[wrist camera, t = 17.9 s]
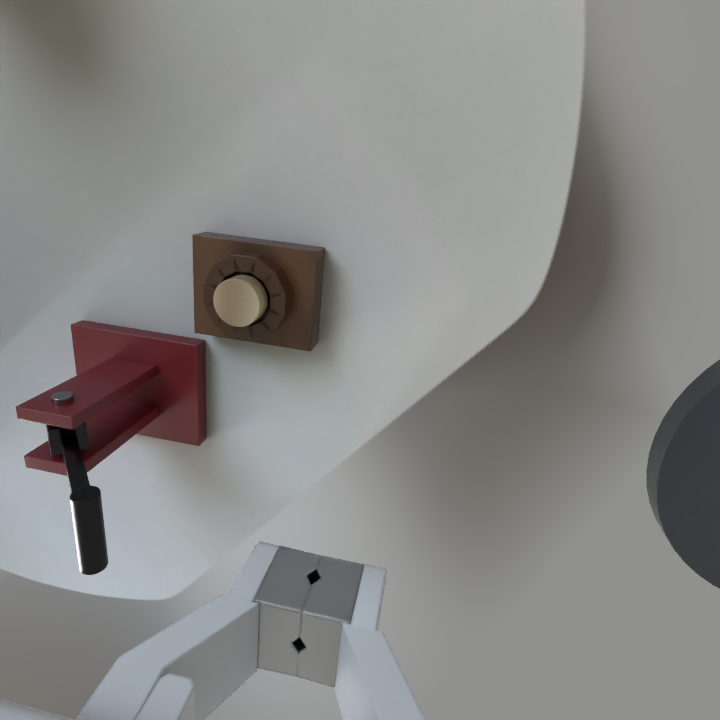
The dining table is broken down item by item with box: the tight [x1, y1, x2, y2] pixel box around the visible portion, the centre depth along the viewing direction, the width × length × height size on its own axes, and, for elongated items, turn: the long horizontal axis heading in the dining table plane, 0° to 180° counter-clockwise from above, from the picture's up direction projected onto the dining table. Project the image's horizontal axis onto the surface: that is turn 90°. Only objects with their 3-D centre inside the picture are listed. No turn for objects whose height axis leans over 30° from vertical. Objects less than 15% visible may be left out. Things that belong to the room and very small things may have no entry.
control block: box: [193, 232, 325, 351], centre depth 38 cm, size 10×8×4 cm
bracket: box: [16, 320, 206, 476], centre depth 40 cm, size 12×10×12 cm
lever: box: [46, 422, 108, 575], centre depth 31 cm, size 14×5×2 cm
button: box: [213, 275, 268, 327], centre depth 36 cm, size 4×4×2 cm
